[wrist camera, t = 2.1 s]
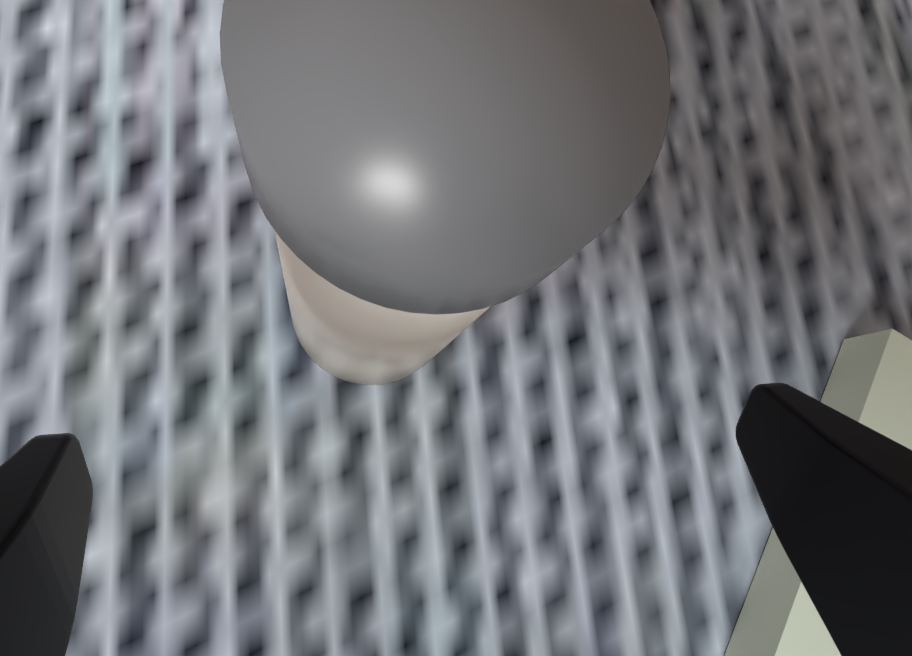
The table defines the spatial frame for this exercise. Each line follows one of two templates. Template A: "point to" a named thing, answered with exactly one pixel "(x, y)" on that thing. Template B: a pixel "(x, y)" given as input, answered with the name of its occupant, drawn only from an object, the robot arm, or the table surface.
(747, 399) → the robot arm
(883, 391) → the socket plate
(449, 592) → the table surface
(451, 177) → the plug
